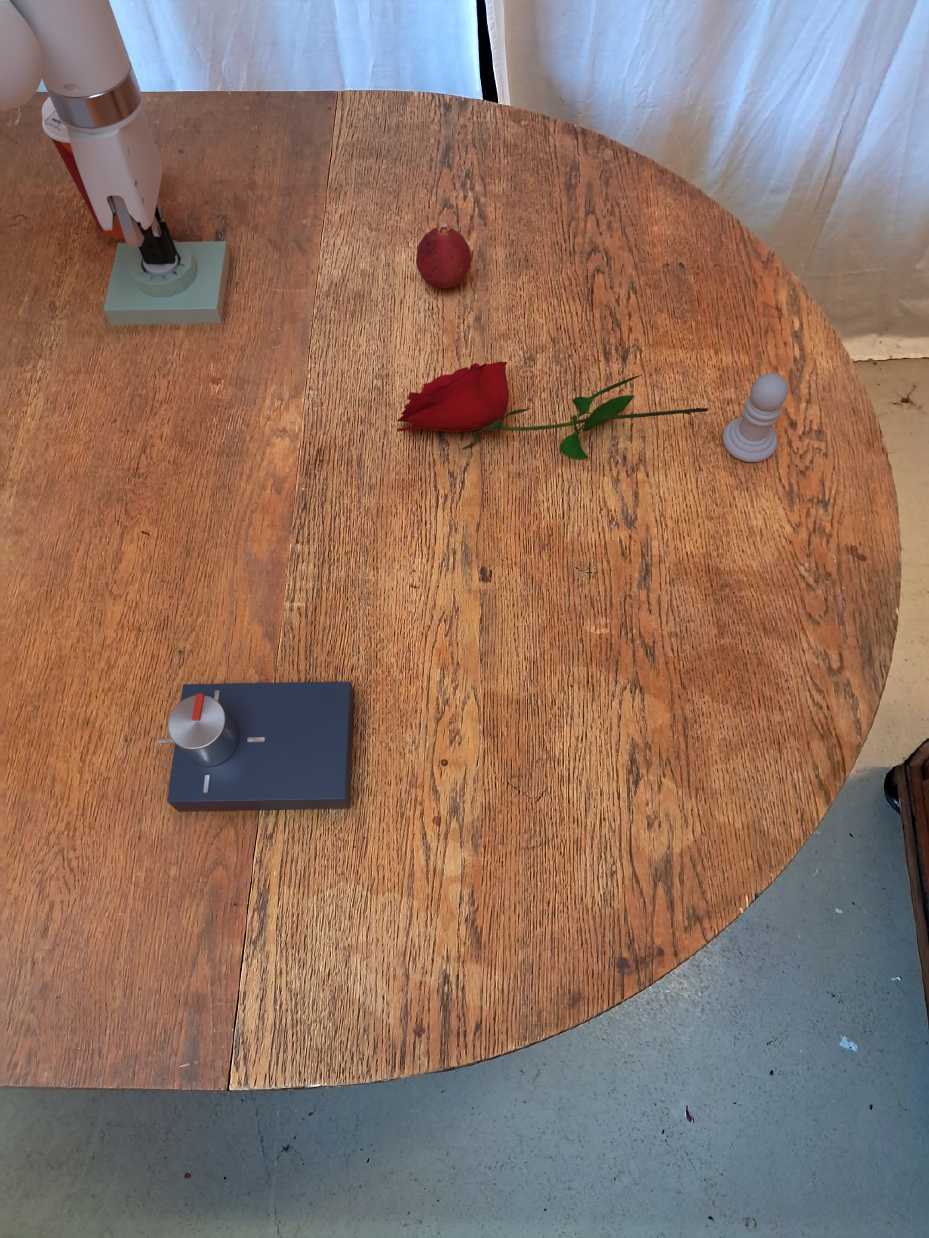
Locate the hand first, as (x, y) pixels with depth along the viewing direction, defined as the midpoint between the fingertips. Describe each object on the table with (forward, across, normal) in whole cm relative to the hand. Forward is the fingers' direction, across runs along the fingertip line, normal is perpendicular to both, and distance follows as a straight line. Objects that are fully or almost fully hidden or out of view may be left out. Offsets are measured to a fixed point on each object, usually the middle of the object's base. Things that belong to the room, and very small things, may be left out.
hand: (161, 258), depth 95 cm
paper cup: (+4, -11, -7) cm, 14 cm away
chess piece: (+5, +22, +60) cm, 64 cm away
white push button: (+2, 0, 0) cm, 2 cm away
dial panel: (+4, +53, +15) cm, 55 cm away
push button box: (+4, 0, 0) cm, 4 cm away
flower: (+5, +20, +40) cm, 45 cm away
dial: (+1, +53, +11) cm, 54 cm away
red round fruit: (+5, 0, +30) cm, 30 cm away
